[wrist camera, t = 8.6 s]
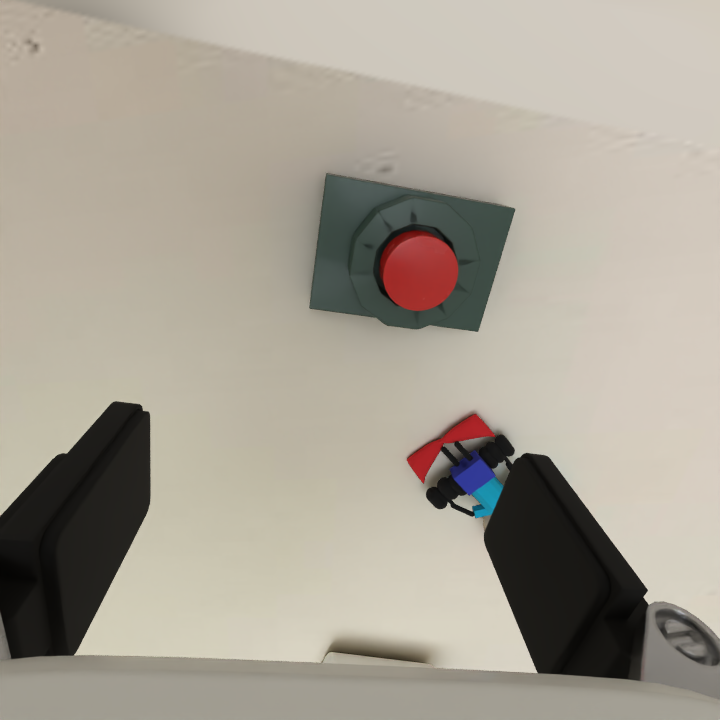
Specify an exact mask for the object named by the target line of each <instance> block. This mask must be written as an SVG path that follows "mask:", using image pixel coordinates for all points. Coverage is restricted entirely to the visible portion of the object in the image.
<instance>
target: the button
mask: <svg viewBox="0 0 720 720" xmlns="http://www.w3.org/2000/svg"><path fill="white" fill-rule="evenodd" d="M379 271H380V277H381V280H382V282H383V285H384V287H385V289H386V291H387V293H388V295H389V296H390V298H391V299H392V300H393V301H394V302H395V303H396V304H398V305H399V306H401V307H403V308H405V309H408V310H414V311H422V310H427V309H431V308H433V307H435V306H437V305H439V304H440V303H442V302H443V301H444V300H445V299H446V298H447V297H448V296H449V295H450V294H451V292H452V291H453V289H454V287H455V285H456V282H457V278H458V263H457V259H456V256H455V254H454V252H453V251H452V250H451V248H450V247H449V246H448V245H447V244H446V243H445V242H443V241H442V240H440V239H439V238H438V237H436V236H435V235H433V234H431V233H429V232H426V231H420V230H413V231H408V232H404V233H402V234H400V235H398V236H397V237H395V238H394V239H393V240H391V241H390V243H389V244H388V245H387V246H386V248H385V249H384V251H383V253H382V256H381V259H380V265H379Z"/></svg>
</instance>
